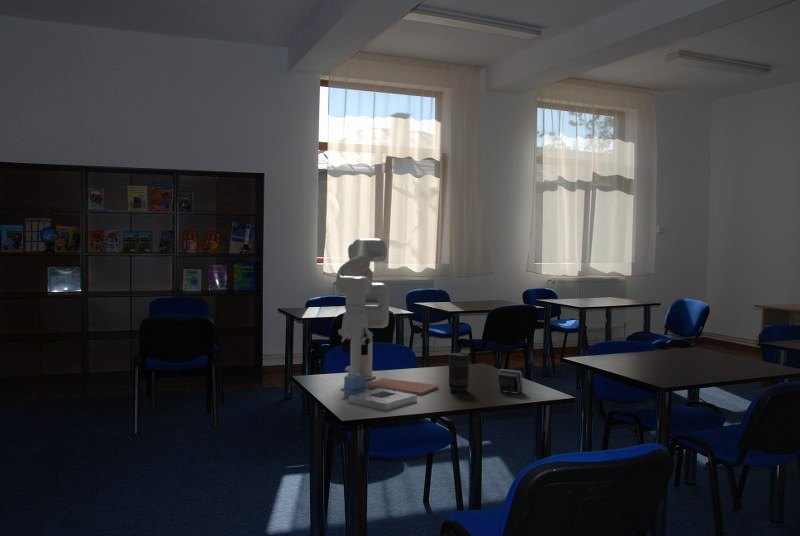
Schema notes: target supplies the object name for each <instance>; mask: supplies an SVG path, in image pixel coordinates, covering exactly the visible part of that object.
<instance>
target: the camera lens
mask: <svg viewBox="0 0 800 536" xmlns="http://www.w3.org/2000/svg"><path fill="white" fill-rule="evenodd" d="M469 360H470V358H469V354H468V353H464V352H453V353H449V354H448V387H449V391H450V392H451V393H454V394H455V393H456V394H464V393H467V391H468V387H469V375H470V371H469V368H470V367H469V366H470V365H469V364H470V361H469Z"/></svg>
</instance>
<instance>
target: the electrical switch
mask: <svg viewBox="0 0 800 536" xmlns="http://www.w3.org/2000/svg"><path fill="white" fill-rule="evenodd" d="M498 385H499V392H501V391H509V392H512V391H513V392H517V393H519V394H521V393H520V392H522V393H523V392H524V384H523V373H522V371H521V370H514V369H513V370H512V369H503V368H500V369H499V370H498Z"/></svg>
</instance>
